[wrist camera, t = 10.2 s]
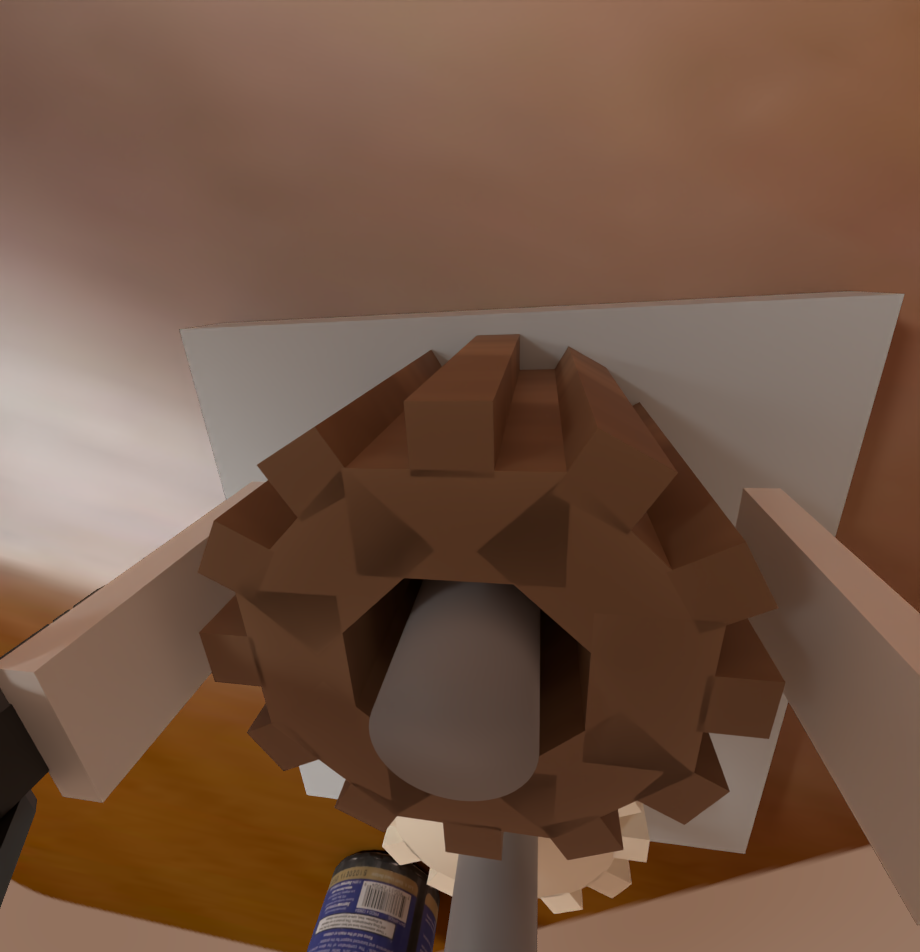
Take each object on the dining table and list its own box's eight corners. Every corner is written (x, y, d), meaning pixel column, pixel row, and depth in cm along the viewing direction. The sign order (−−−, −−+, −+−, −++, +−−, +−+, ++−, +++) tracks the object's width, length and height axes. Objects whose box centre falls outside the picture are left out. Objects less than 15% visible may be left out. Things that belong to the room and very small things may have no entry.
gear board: (325, 753, 23) (182, 1068, 14) (222, 323, 15) (-254, 393, 6) (726, 800, 20) (881, 1246, 11) (850, 291, 12) (1764, 337, 3)
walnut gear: (371, 608, 16) (261, 823, 10) (332, 339, 13) (123, 402, 6) (645, 628, 15) (723, 895, 8) (685, 328, 11) (870, 398, 5)
